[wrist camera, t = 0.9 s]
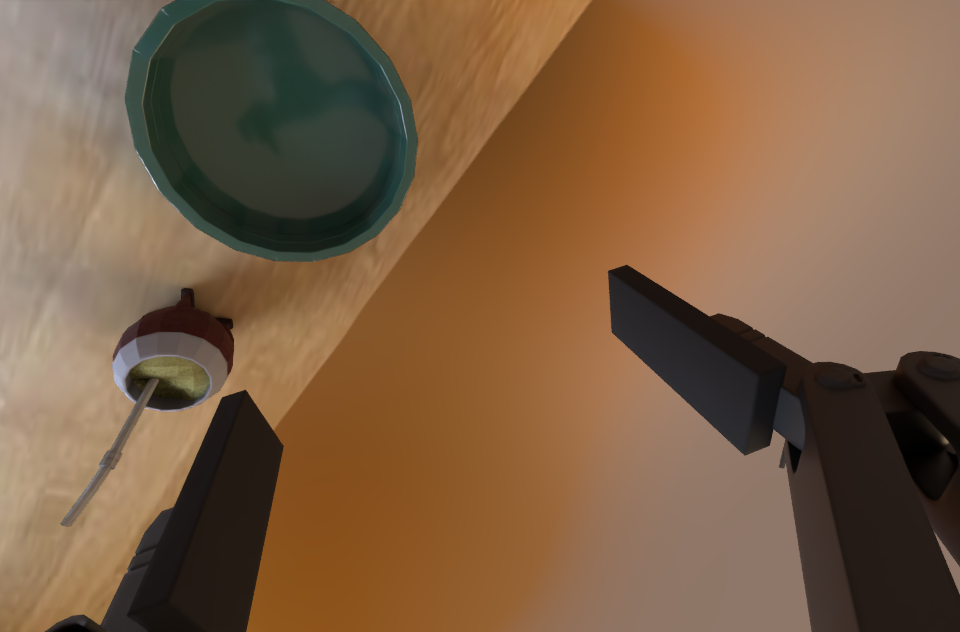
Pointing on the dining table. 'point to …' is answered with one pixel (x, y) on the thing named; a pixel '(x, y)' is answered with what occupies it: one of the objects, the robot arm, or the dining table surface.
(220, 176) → the green round tray
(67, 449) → the dining table surface
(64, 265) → the dining table surface
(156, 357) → the mate gourd
